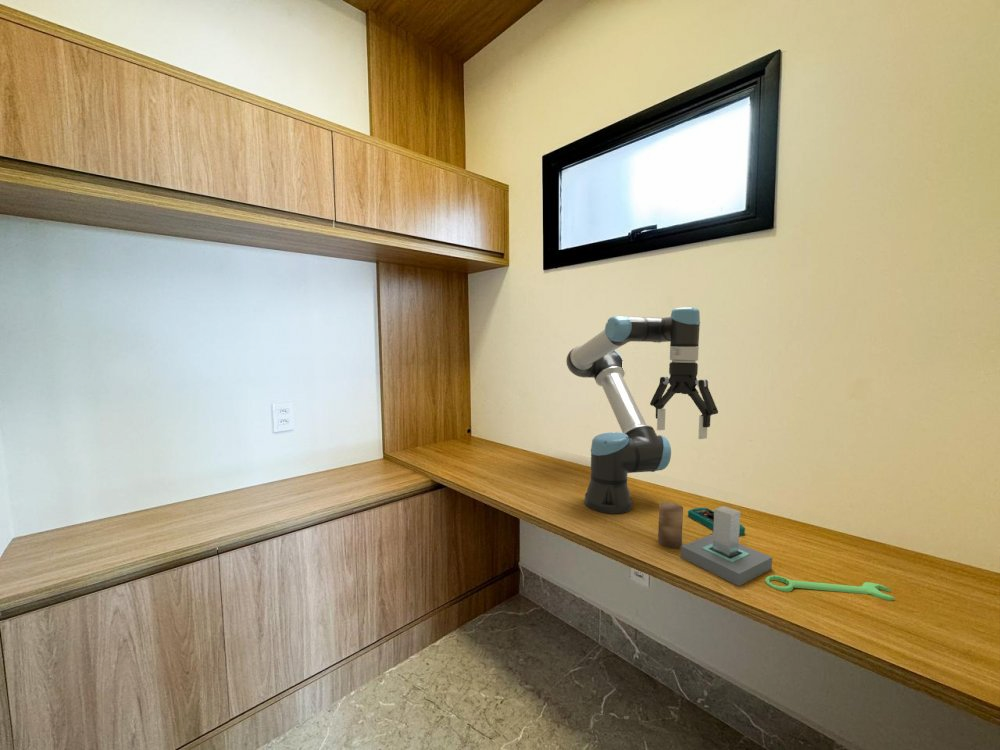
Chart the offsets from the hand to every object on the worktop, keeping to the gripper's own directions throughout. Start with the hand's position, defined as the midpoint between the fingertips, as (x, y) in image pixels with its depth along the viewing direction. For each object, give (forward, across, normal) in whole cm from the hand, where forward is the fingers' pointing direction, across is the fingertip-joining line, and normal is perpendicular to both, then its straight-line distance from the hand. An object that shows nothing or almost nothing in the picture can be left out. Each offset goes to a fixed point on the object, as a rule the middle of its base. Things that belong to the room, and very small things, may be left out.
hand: (680, 434), depth 116 cm
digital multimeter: (+27, +6, +9) cm, 29 cm away
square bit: (+27, +20, -10) cm, 35 cm away
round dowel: (+27, +7, -13) cm, 31 cm away
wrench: (+28, +37, -1) cm, 46 cm away
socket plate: (+27, +20, -10) cm, 35 cm away
